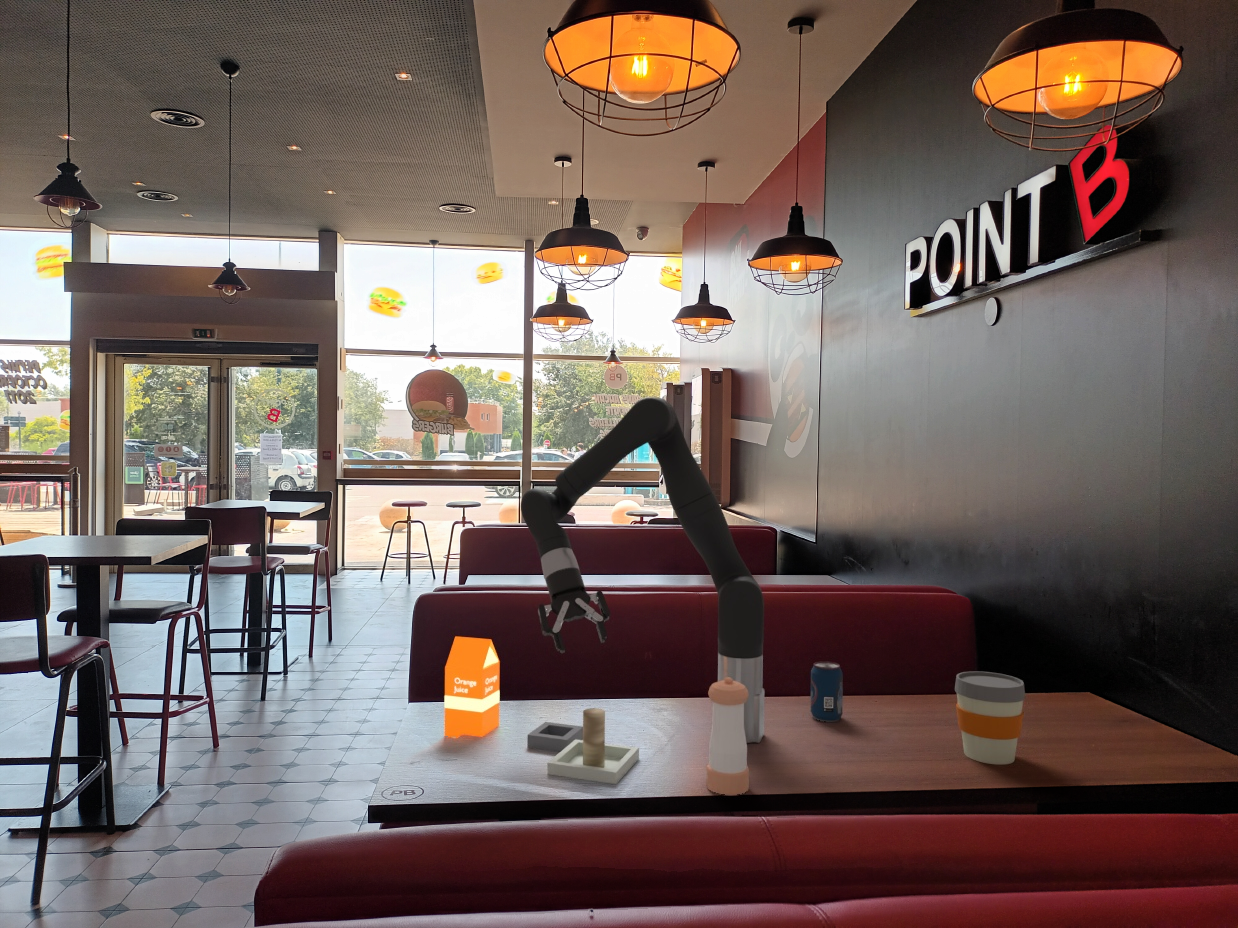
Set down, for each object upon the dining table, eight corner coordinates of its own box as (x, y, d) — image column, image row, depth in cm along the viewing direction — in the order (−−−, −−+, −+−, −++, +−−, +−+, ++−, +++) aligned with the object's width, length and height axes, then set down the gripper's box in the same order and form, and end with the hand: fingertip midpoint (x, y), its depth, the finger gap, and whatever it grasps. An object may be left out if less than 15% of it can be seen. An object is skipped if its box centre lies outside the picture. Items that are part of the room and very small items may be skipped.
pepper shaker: (702, 791, 137) (702, 680, 137) (712, 776, 144) (713, 670, 144) (743, 798, 135) (744, 685, 135) (752, 782, 141) (753, 674, 142)
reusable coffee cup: (940, 749, 159) (940, 674, 159) (986, 741, 164) (986, 668, 164) (992, 771, 147) (992, 690, 147) (1040, 762, 152) (1040, 684, 152)
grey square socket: (583, 743, 160) (583, 726, 161) (566, 757, 153) (567, 739, 153) (545, 738, 163) (545, 721, 163) (527, 752, 155) (527, 734, 155)
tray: (638, 763, 150) (639, 747, 150) (615, 789, 138) (615, 772, 138) (575, 754, 154) (575, 739, 154) (547, 779, 142) (547, 762, 142)
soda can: (809, 712, 182) (809, 660, 182) (840, 713, 181) (840, 661, 181) (812, 721, 175) (812, 667, 176) (844, 723, 175) (844, 668, 175)
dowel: (605, 762, 148) (605, 708, 148) (603, 770, 144) (603, 715, 144) (584, 761, 148) (584, 707, 148) (581, 769, 144) (581, 714, 144)
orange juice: (481, 741, 161) (482, 643, 161) (443, 736, 164) (444, 639, 164) (499, 729, 169) (500, 635, 169) (463, 725, 172) (463, 632, 172)
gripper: (530, 574, 163) (550, 649, 155) (596, 559, 167) (619, 631, 159) (528, 588, 169) (548, 661, 162) (592, 573, 173) (614, 643, 166)
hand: (583, 646), depth 160 cm, fingers open, 8 cm apart
